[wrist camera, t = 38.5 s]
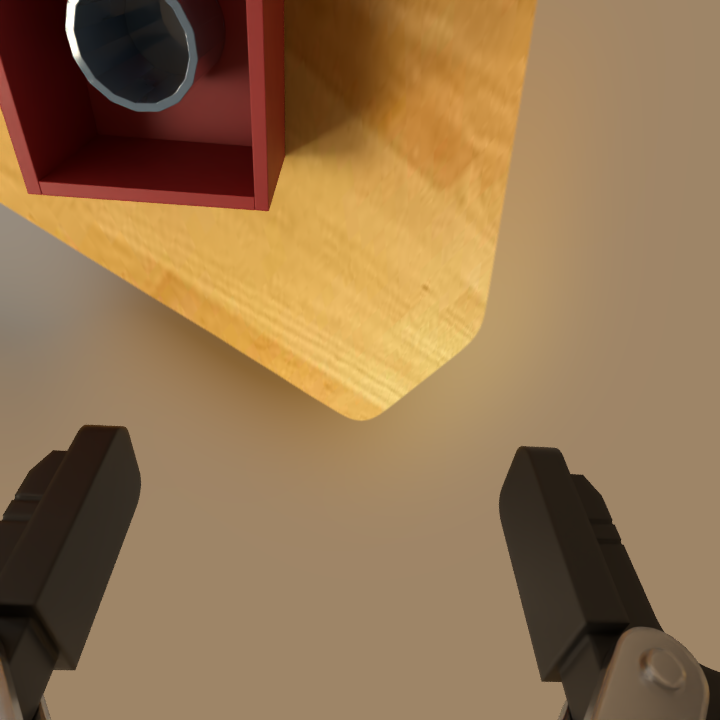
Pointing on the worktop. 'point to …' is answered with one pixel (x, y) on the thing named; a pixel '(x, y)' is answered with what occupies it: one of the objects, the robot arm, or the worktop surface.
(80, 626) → the robot arm
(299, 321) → the worktop surface
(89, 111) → the cooler
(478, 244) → the worktop surface
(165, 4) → the cup
